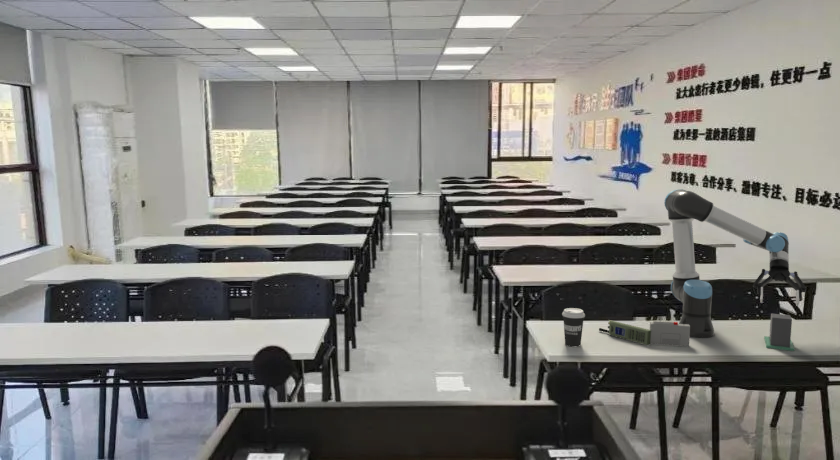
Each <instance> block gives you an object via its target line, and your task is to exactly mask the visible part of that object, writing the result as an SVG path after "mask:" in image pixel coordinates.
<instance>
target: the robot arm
mask: <svg viewBox="0 0 840 460" xmlns="http://www.w3.org/2000/svg"><path fill="white" fill-rule="evenodd" d="M664 207H665V209H666V210H667V216H668V221H670V222H671V225H672V238H673V253H674V263H675V272H674V273H673V274H672V281H671V284H670V291H671V294H672V295H673V296H674V298H675V299H677V300H678V301H679V302H681V303H682V315H681V317H680V320H679V322H678V324H689V325H690V337H692V338H693V337H694V338H711V337H713V336H714V334H715V329H714V324H713V322H712V318H711V315H712V299H713V287H712V285H711V284H710V283H709V282H708V281H706V280H705V281H703V280H701V279H700V274H699V273H698V272H697V271H696V261H695V257H696V256H695V245H694V230H693V221H694V220H696V221H698V222H701V223H704V222H706V223H708V224H710V225H712V226H715V227H717V228H719V229H721V230H723V231H725V232H727V233H729V234H731V235H733V236H736V237H738V238H739V239H742V240H743V242H744V243H746V244H748V245H751V246H753V247H757V248H759V249H763V250H765V251H768V253H769V270H766V269H765V268H762V269H761V273H760V274H759V275H758V276H757V278H756V279H755V281H754V282H753V285H752V287H753V288H754V289H757V295H758V296H760V297H759V300H760V303H763V301H764V298H763V297H764V287H765V286H767V285H768V284H769V283H770V282H772V281H775V282H785V283H786V284H788V285H789V286H790V287H792V289H793V290H794V291H796V292H795V299H796V300H795V305H796V307H799V305H800V300H801V299H802V296H803V293H806V292H807V288H808V287H806V285H805V284H804V282H803V281H802V279H801V278H800V277H799V273H798V271H793V272H791V271H790V267H789V266H790V264H789V263H790V260H789V259H790V257H789V245H790V244H789V237H788V235H787V234H786V233H784V232H781V231H780V232H778V231H776V232H773V233H772V232H770V231H768V230H765V229H764V228H761V227H759V226H758V225H755V224H753V223H751V222H749V221H746V220H745V219H742V218H740V217H738V216H736V215H734V214H732V213H729V212H727V211H725V210H723V209H721V208H719V207H717V206H714V203H713V202H711V201H710V200H707V199H706V198H704V197H702V195H701V196H700V195H699V194H697V192H696V193H695V192H694V191H691V190H687V189H683V188H681V189H680V188H678V189H674V190H670V192H668V193H667V195H666V196H665V198H664ZM767 274H768V276H767ZM765 276H767V277H766V278H765V279H764V280H763V278H764V277H765ZM790 276H791V277H792V278H793V279H794V280H793V279H791V277H790ZM762 280H763V281H762Z"/></svg>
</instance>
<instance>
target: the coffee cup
mask: <svg viewBox="0 0 840 460" xmlns="http://www.w3.org/2000/svg"><path fill="white" fill-rule="evenodd" d="M561 315H562V317H563V331H564V332H563V333H564V334H563V335H564V344H565V346H567V345H570V346H569V347H572V346H577V347H580V346H581V345H582V336H583V328H584V319H585V317H586V314H585V313H584V310H583V309H581V308H577V307H575V308H574V307H569V308H568V307H567V308H564V309H563V311H562V313H561ZM579 345H580V346H579Z"/></svg>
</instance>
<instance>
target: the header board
mask: <svg viewBox="0 0 840 460" xmlns="http://www.w3.org/2000/svg"><path fill="white" fill-rule="evenodd" d="M763 339H764V343H765V348H767V349H774V350H783V351H791V352H795V346H794V344H793V341H792V338H791V339H790V347H782V346H773V345H770V342H769V336H766V335H764V337H763Z"/></svg>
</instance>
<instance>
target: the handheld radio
mask: <svg viewBox="0 0 840 460" xmlns="http://www.w3.org/2000/svg"><path fill="white" fill-rule="evenodd" d="M607 321H608V325H607V329H605V328H601V327H599V328H598V331H599V332H602V331H603V332H604V333H608V335H609V334H610V335H609V336H611V335H613V336H612V337H615V336H617V337H616V338H619V337H621V338H620V339H622V338H624V339H623V340H626V339H627V340H626V341H631V342H633V341H634V343H639V344H641V345H645V346H650V345H651V344H650V339H651V330H650V329H647V328H644V327H640V326H635V325H632V324H628V323H624V322H620V321H616V320H610V319H608V320H607Z"/></svg>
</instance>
